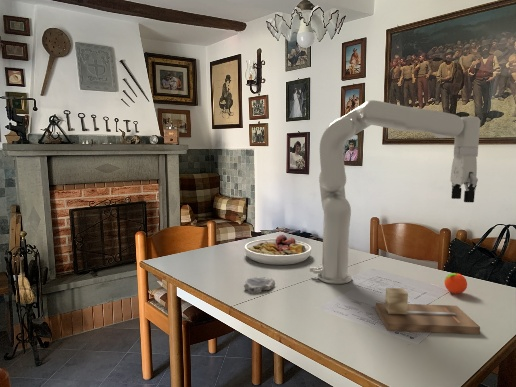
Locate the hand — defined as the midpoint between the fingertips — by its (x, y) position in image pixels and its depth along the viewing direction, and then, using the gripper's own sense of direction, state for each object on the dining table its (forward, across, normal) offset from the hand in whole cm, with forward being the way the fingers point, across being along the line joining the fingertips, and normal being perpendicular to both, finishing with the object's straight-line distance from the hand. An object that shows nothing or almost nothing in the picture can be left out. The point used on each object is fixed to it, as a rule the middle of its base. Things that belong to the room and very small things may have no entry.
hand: (462, 200), depth 137 cm
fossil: (+31, +10, -72) cm, 80 cm away
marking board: (+31, +33, -23) cm, 51 cm away
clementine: (+31, +10, -5) cm, 33 cm away
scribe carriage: (+28, +33, -31) cm, 53 cm away
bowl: (+31, -29, -66) cm, 79 cm away
